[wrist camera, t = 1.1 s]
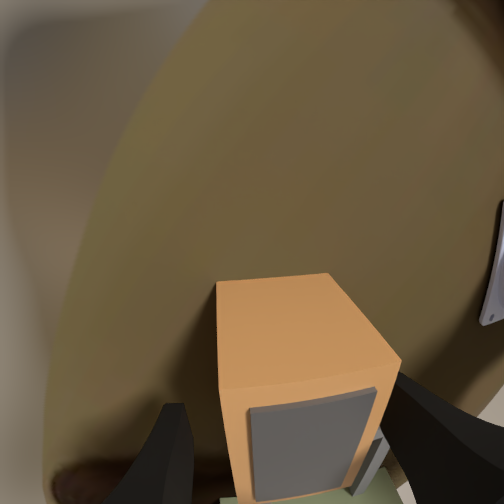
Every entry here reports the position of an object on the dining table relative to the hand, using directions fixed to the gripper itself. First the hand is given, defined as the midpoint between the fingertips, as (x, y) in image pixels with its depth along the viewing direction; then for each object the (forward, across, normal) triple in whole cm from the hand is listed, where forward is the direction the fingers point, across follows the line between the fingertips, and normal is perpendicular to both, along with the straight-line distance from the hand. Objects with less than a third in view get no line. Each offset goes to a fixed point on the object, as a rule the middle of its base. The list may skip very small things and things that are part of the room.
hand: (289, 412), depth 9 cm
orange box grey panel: (+4, 0, 0) cm, 4 cm away
